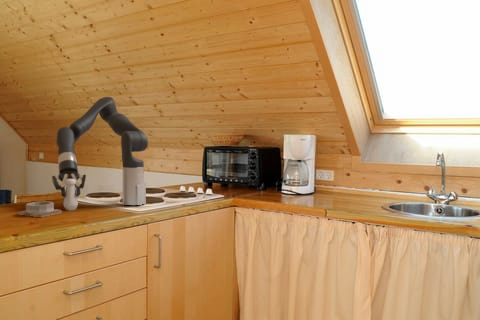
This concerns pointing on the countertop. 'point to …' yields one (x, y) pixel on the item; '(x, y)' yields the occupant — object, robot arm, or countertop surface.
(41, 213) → the cup holder
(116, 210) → the countertop surface
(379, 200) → the countertop surface
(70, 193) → the salt shaker
